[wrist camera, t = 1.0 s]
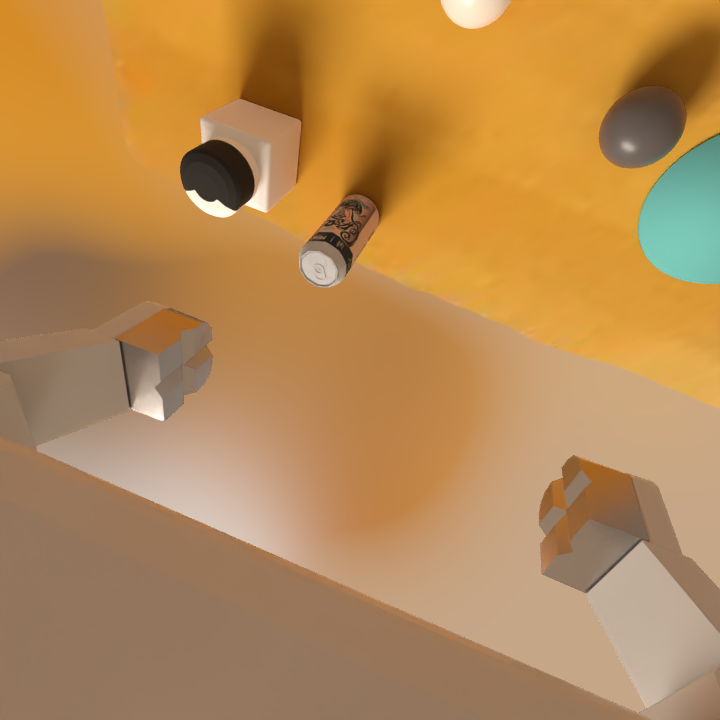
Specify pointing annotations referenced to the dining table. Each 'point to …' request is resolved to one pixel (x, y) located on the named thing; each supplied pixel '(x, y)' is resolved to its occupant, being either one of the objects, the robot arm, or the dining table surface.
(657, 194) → the teal mark
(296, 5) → the dining table surface
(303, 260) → the beer can
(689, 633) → the robot arm
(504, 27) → the dining table surface
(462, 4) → the cue ball
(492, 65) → the dining table surface
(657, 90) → the dark grey ball
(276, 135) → the medicine bottle
